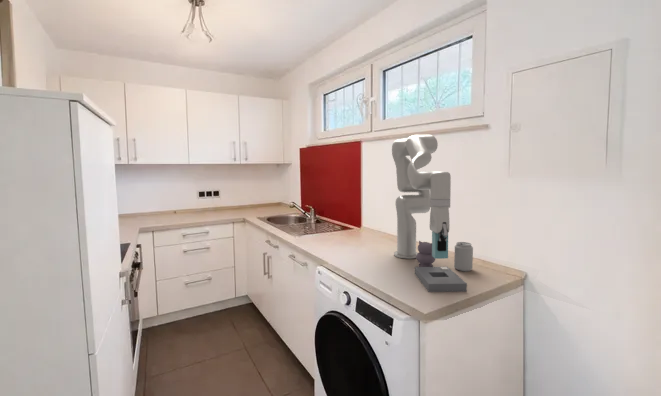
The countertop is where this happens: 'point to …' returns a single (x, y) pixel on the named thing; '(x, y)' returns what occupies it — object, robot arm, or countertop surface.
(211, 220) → the countertop surface
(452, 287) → the socket
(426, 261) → the cat figurine
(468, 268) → the can
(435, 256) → the plug
